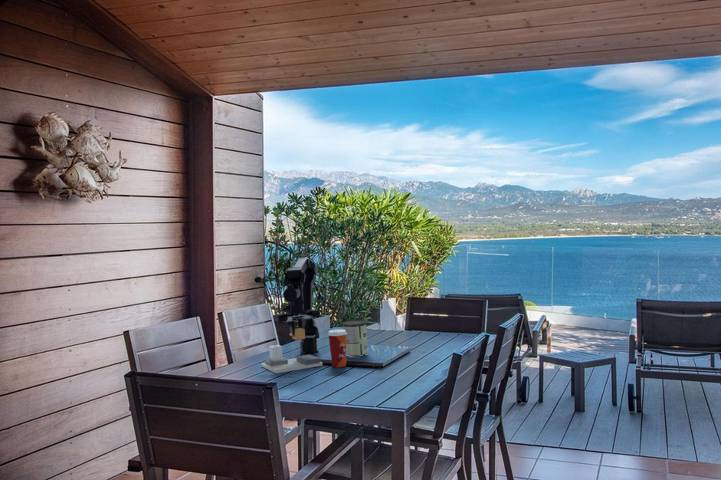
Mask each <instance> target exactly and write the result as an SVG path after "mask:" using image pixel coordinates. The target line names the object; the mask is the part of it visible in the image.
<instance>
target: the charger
mask: <svg viewBox="0 0 721 480" xmlns="http://www.w3.org/2000/svg"><path fill="white" fill-rule="evenodd" d="M268 350H269V359H270V361H272V362H274V361H281V360H283V358H284V357H283V346H282V345H280V344H276V345H269V346H268Z"/></svg>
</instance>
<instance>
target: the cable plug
mask: <svg viewBox="0 0 721 480" xmlns="http://www.w3.org/2000/svg"><path fill="white" fill-rule="evenodd" d="M289 336H291V337H292V340H295V341H297V340H299V339H300V340H301V339H305V329H303V328H295V337H293V336H292V333H291V332H290V333H289Z"/></svg>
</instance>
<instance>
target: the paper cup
mask: <svg viewBox="0 0 721 480" xmlns="http://www.w3.org/2000/svg"><path fill="white" fill-rule="evenodd" d="M346 334H347V333H346V330H343V328H342V329H341V328H340V329H332V330H331V329H330V330H329V331H328V334H327V336H328V340H329V341H328V342H329V349H330V359H331V366H332V368H344V367H346V366H347V357H346Z"/></svg>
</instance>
